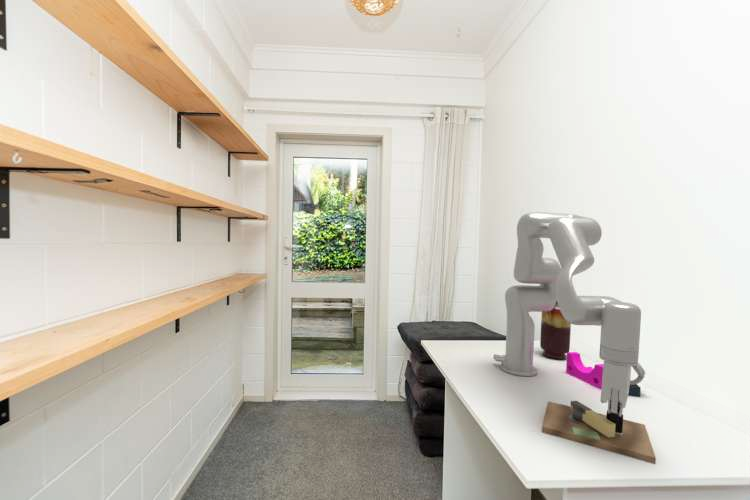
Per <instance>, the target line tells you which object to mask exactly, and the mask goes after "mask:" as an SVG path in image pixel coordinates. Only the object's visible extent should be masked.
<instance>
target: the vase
mask: <svg viewBox="0 0 750 500" xmlns="http://www.w3.org/2000/svg"><path fill="white" fill-rule="evenodd" d="M540 320H541V323H540V338H539V339H540V344H539V346H540V349H542V350H543V351H542V355H543V356H545V357H548V358H552V359H558V360H563V359H567V352H570V344H571V327H572V324H571V323H569V322H568V321H566V319H565V318H564V317H563V315H562V313H561V311H560V308H559V306H558V303H557V300H556V304H555V306H554V308H553V309H552V310H550V311H547V312H541V319H540Z"/></svg>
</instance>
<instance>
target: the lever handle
mask: <svg viewBox="0 0 750 500" xmlns="http://www.w3.org/2000/svg"><path fill="white" fill-rule="evenodd" d="M570 407H573V412H572V418H573V419H574V420H576V421H579V422H583V423H587V424H588V425H590V426H592V427H593V428H595V429H596V430H598V431H599V432H601V433H602V434H604V435H605V436H607V437H608V438H609V437H615V425H616V424H615V423H613V422H611V421H610V420H608V419H606V418H604V417H603V416H601V415H599V414H600V413H599V412H596V411H594V410H592V408H590V407H588V406H586V405H585V404H583V403H582V402H579V401H578V400H570ZM598 413H599V414H598Z"/></svg>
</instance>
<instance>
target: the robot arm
mask: <svg viewBox="0 0 750 500" xmlns="http://www.w3.org/2000/svg"><path fill="white" fill-rule="evenodd" d="M516 236H517V249H516V255H515V261H514V267H513V277H514V280H515V281H516V282H518V283H519V284H518V285H517V284H516V285H512V286H510V287H508V288H507V289H506V290H505V293H504V302H505V307H506V334H505V335H506V336H505V354H502V355H500V354H496V353H494V354H493V358H492V359H494V361H495V362H499V363H500V369H501V370H502V371H504V372H506V373H508V374H510V375H514V376H518V377H534V376H536V375H537V374H538V368H537V367H535V366H534V350H535V349H534V348H535V347H534V344H535V343H534V342H535V322H534V320H533V318H532V317H531V315H530V313H532V312H535V313H536V312H537V313H538V312H541V313H542V312H547V311H550V310H552V309H553V308H554V306H555V304H556V300H557V303H558V306H559V308H560V311H561V313H562V315H563V317H564V318H565V319H566V321H568V322H569V323H571V325H575V326H597V327H599V326H600V342H599V355H598V356H599V358H600V360H602V361H603V364H604V365H603V374H602V388H601V389H600V391H601V392H600V399H599V400H600V403H602V404H605V403H607V410H606V414H605V415H606V419H608V420H610V421H611V422H613V423H615V424H616V425H615V432H618V433H622V429H623V419H624V414H623V411H624V410H623V409H625V408H626V406H627V402H628V398H629V396H628V393H629V387H630V380H631V375H632V366H637V365H638V362H639V355H640V354H639V353H640V352H639V351H640V339H641V338H640V337H641V336H640V335H641V319H642V310H641V308H640V307H639V306H638V305H637V304H634V303H632V302H631V303H630V302H623V301H621V300H619V299H617V298H615V297H612V296H606V295H605V296H603V295H602V296H601V295H577V292H576V290H575V287H574V284H573V276H576V275H578V274H581V273H584V272H585V271H587V270H588V269H590V268H591V267H592V266H593V265H594V263H595V257H594V255H593V252H592V250H591V249H590V247H589V246H595V245H597V244H598V243H599V242H600V240H601V238H602V228H601V225H600V224H599V222H597V220H595V219H594V218H591V217H587V216H583V215H582V216H581V215H577V214H573V213H561V212H560V213H558V212H540V211H539V212H528V213H524V214H523V215H521V216H520V218H519V219H518V222H517V225H516ZM542 239H550V242H551V245H552V248H553V250H554V252H555V254H556V257H557V260H556V259H555V258H552V257H543V253H544V247H545V246H544V243H543V242H542ZM520 283H521V284H523V285H521V284H520ZM525 284H526V285H525ZM527 284H528V285H527ZM531 284H533V285H531ZM534 284H535V285H534ZM538 284H539V285H538Z"/></svg>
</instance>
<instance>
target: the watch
mask: <svg viewBox="0 0 750 500" xmlns="http://www.w3.org/2000/svg"><path fill="white" fill-rule="evenodd" d="M631 368H633V370H634V371H635V372H636V374H637V377H636V378H635V379H632V380H631V379H630V387H629V393H628V397H635V398H636V397H637V398H641V386H640V385H638V384H639V383H641V382H643V380H644V378H645V375H646V371H645V370H644V367H643V366H642V365H641V363H639V361H638V365H637V366H631Z"/></svg>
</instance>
